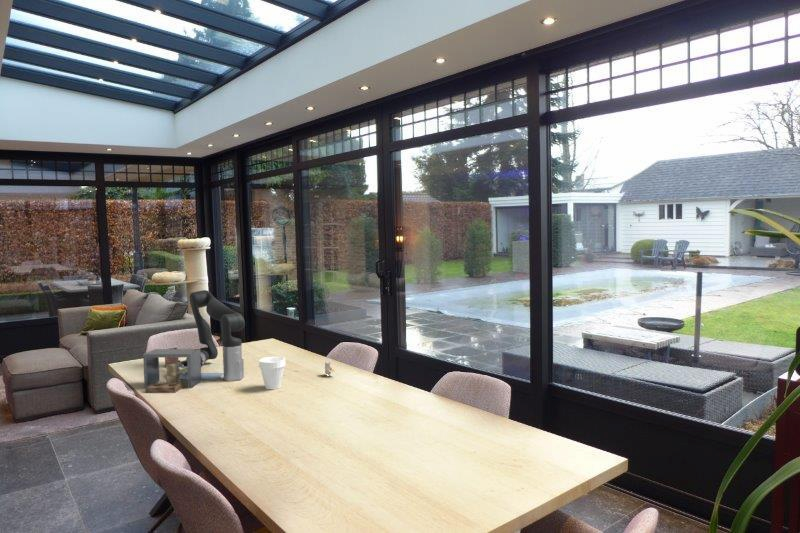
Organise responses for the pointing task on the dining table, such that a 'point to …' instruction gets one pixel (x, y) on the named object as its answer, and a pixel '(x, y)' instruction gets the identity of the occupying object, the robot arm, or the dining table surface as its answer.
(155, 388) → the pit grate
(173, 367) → the maple block
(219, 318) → the robot arm
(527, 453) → the dining table surface
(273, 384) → the cup
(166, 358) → the lighter
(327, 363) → the architectural model
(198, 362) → the tunnel
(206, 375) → the mat
